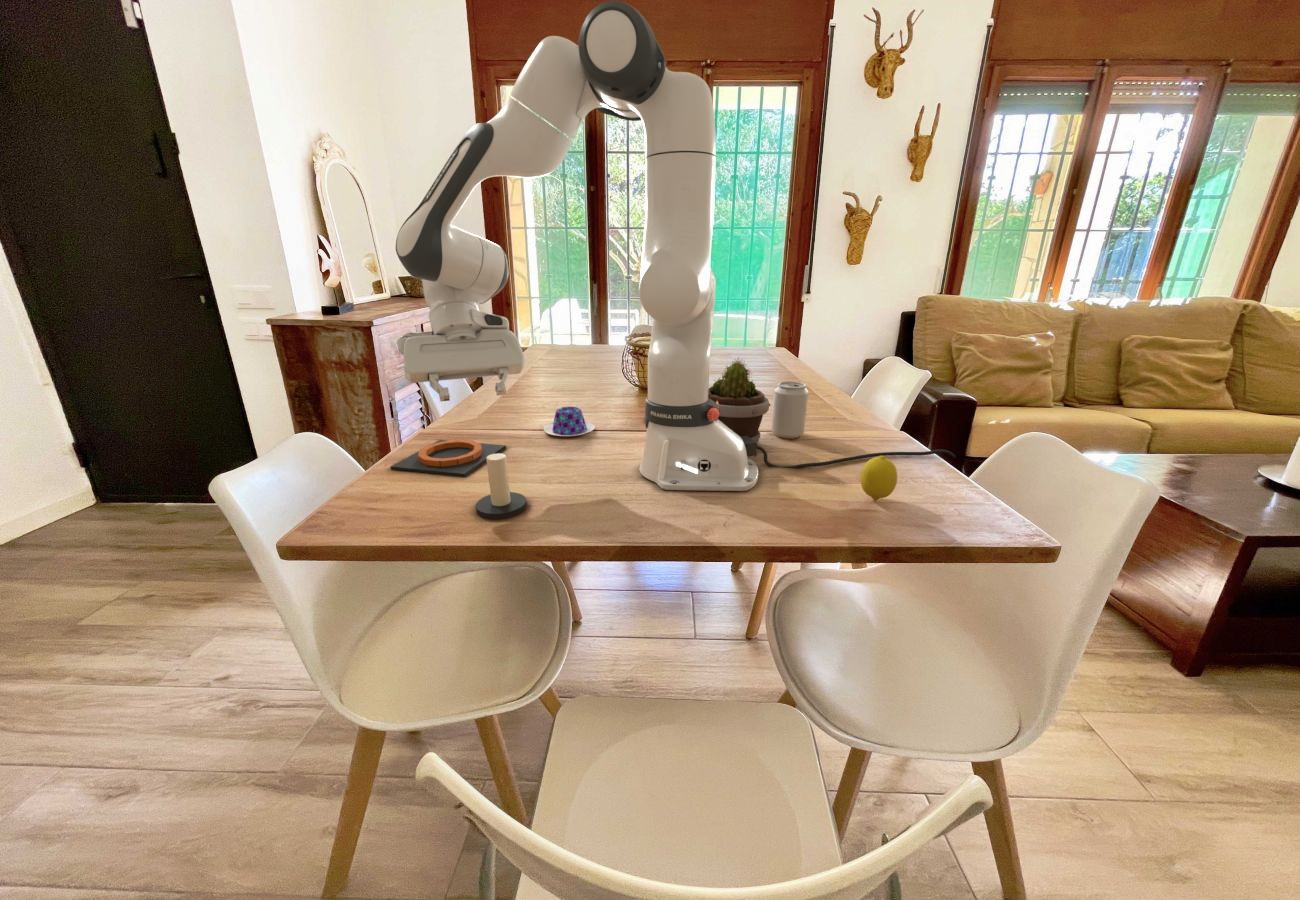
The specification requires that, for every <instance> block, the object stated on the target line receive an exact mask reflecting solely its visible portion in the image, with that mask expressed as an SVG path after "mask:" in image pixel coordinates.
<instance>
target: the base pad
mask: <svg viewBox="0 0 1300 900" xmlns="http://www.w3.org/2000/svg"><path fill="white" fill-rule="evenodd" d="M506 448H507V446H506V445H505V444H495V443H494V444H493V443H481V442H477V441H474V440H467V439H453V440H447V439H439V440H436V441H435V442H433V443H432V444H428V445H426V446H425V447H423V448H421V449H420V450H418V451H417V452H415V453H413V454H411V455H409V456H407V457H404V459H402V460H400V461H398V462H396V463H394V464H392V465H390V470H393V471H395V470H396V471H403V472H404V471H405V472H416V473H423V474H433V475H435V474H436V475H444V476H453V477H463V478H465V477H467V476H468V475H470V474H471V473H472V472H474V471H475V470H476V469H478V468H479V467H481V466H483V465H484V464H485V463H487V460H486V457H487V456H489V455H491V454H497V453H501V452H502V451H503V450H505V449H506Z"/></svg>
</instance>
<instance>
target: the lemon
mask: <svg viewBox="0 0 1300 900" xmlns="http://www.w3.org/2000/svg"><path fill="white" fill-rule="evenodd" d="M897 484H898V471H897V467H896V465H895V463H894V462H893V461H892V460H891V459H889V458H887V457H886V456H876V457H871V459H869V460H867V462H865V464H864V466H863V468H862V470H861V474H860V485H861V489H862V491H863V492H864V493H865V494H866V495H867V496H869V497H871V499H872V501H873V500H874V501H878V500H879V499H884V498H886V497H888V496H891V494H892V493H893V492H894V491H895V488H896V487H897Z"/></svg>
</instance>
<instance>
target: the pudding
mask: <svg viewBox="0 0 1300 900" xmlns="http://www.w3.org/2000/svg"><path fill="white" fill-rule="evenodd" d="M595 428H596V426H595V424H593V423H592V422H590V421H585V417H584V415H583V411H582V409H581V408H579V407H577V406H561V407H560V408H557V409H556V410H555V413H554V419H553V422H551V423H548V424H546V425H545V426H544V427H543V432H544V433H546V434H549V435H551V436H555V437H576V436H581V435H585V434H588V433H591V432H593V431H594V430H595Z"/></svg>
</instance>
